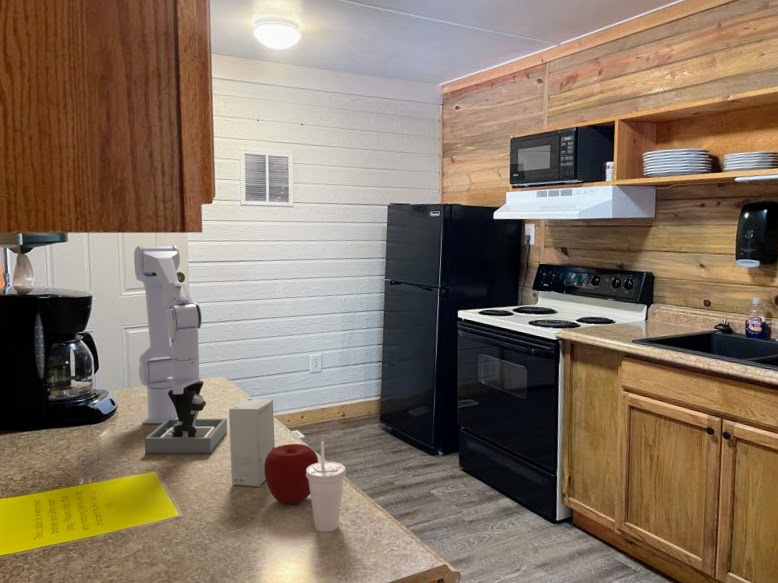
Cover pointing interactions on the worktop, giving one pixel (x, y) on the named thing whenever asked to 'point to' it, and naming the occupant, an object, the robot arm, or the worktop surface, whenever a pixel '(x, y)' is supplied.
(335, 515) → the smoothie
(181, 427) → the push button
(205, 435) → the cream rectangular frame
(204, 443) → the grey square tray
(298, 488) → the apple
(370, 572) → the worktop surface
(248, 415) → the skincare box
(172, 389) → the robot arm
